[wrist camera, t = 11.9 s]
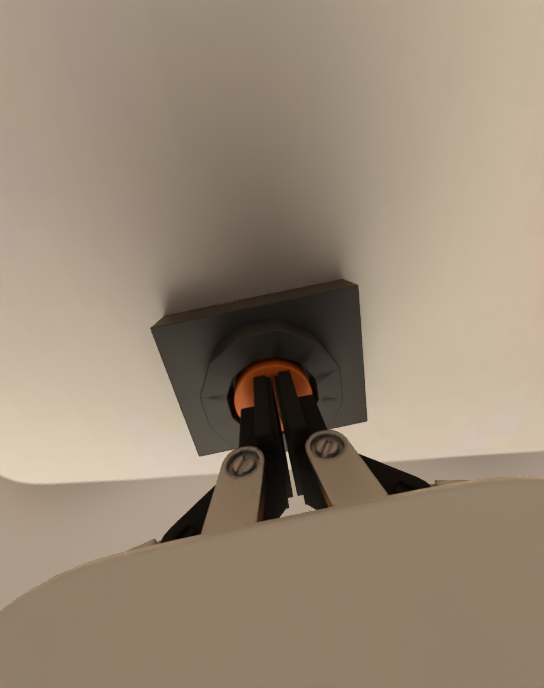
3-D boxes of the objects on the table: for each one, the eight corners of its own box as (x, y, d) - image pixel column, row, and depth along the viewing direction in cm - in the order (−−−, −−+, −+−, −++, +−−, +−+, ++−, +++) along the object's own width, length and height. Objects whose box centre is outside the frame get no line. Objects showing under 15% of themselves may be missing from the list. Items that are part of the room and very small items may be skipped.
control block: (204, 431, 17) (192, 483, 14) (163, 315, 14) (134, 341, 11) (353, 400, 17) (382, 443, 14) (343, 278, 15) (375, 291, 11)
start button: (244, 417, 14) (244, 439, 13) (228, 358, 13) (225, 374, 11) (309, 403, 14) (317, 424, 13) (299, 343, 13) (307, 357, 11)
